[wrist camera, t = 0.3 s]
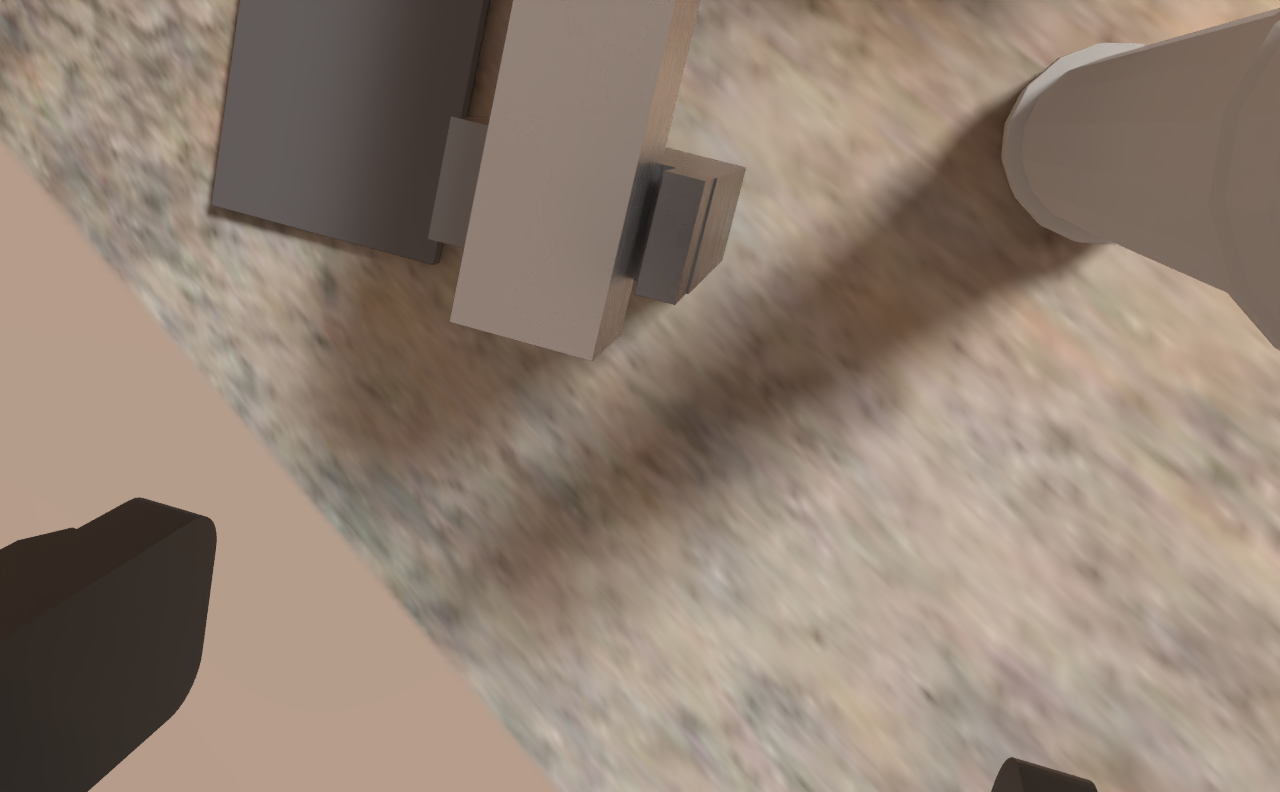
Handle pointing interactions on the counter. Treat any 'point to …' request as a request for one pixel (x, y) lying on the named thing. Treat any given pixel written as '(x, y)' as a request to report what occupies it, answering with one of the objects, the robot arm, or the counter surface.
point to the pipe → (1163, 155)
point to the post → (677, 225)
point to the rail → (571, 169)
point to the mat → (346, 115)
